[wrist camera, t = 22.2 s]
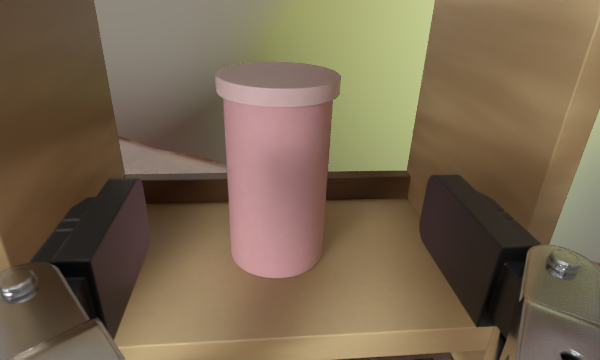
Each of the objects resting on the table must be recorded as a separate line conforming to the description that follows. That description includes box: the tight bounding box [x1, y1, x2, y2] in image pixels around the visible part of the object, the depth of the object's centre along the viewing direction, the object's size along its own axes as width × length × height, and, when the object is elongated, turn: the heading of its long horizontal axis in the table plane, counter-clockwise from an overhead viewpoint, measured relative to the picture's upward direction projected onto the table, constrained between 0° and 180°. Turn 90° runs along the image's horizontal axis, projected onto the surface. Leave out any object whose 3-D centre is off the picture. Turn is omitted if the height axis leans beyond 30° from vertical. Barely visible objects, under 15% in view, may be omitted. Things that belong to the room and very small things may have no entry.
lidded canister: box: [215, 62, 341, 278], centre depth 21 cm, size 6×6×10 cm
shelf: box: [0, 0, 600, 360], centre depth 20 cm, size 22×13×24 cm, turn 96°
